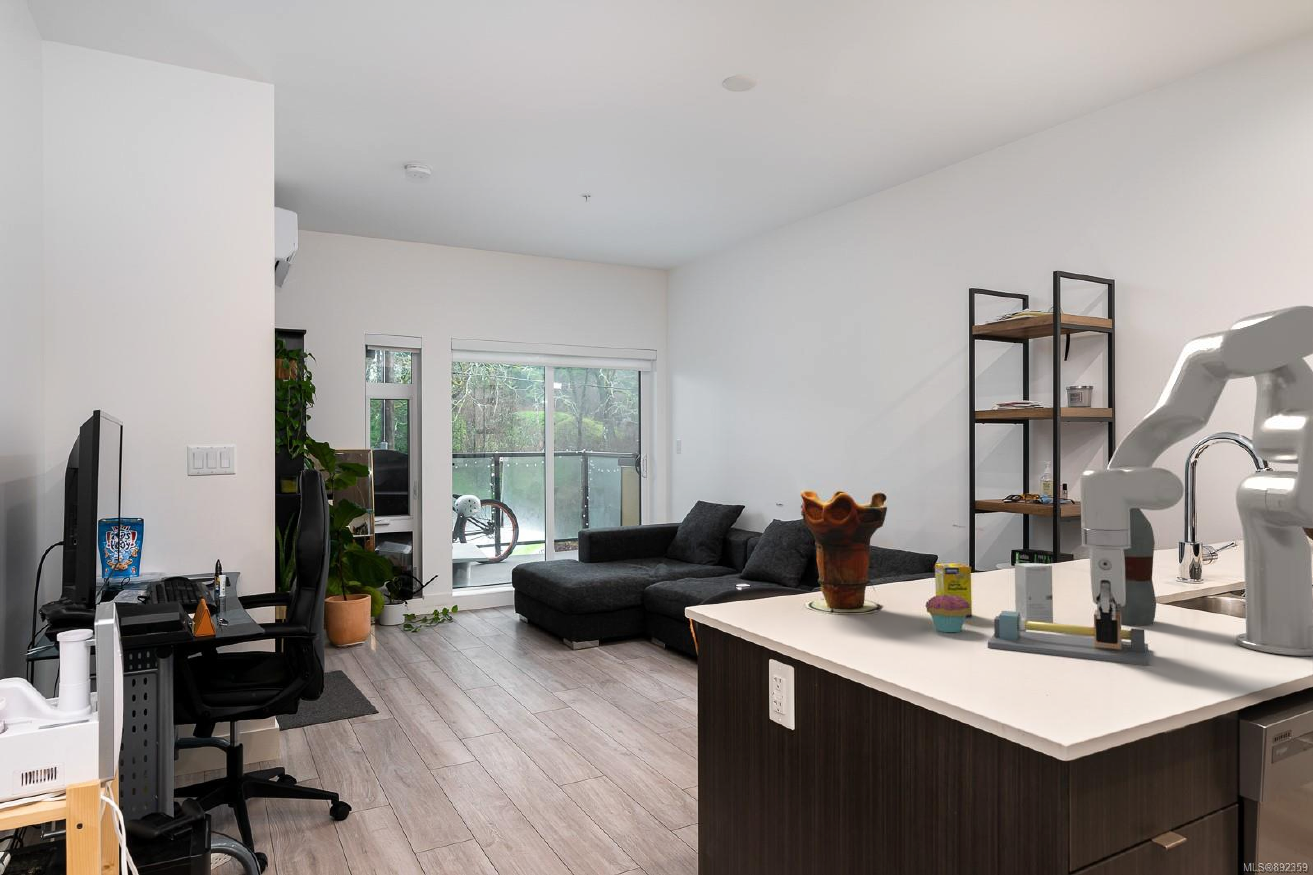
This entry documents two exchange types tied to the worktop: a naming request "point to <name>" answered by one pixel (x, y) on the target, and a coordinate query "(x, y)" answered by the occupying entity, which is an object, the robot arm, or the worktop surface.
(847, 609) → the decorative vase
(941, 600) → the cupcake
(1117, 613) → the sleeve
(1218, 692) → the worktop surface
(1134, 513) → the bottle
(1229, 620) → the worktop surface
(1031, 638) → the cable board
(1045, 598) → the skincare box
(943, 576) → the supplement box
